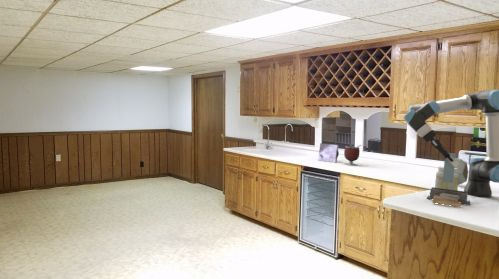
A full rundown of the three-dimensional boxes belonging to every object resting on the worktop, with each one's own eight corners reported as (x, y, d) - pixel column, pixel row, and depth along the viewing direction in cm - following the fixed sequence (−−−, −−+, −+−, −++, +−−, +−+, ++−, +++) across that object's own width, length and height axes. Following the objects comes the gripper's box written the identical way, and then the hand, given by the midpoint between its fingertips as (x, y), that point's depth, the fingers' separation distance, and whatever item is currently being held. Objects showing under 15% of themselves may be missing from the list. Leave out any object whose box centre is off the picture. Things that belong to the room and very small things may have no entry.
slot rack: (428, 196, 222) (429, 186, 222) (469, 203, 211) (470, 192, 211) (426, 198, 216) (427, 188, 215) (469, 205, 205) (470, 194, 205)
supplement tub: (449, 194, 237) (452, 166, 236) (461, 198, 224) (464, 169, 223) (430, 192, 236) (432, 165, 235) (440, 197, 224) (443, 168, 223)
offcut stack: (433, 201, 210) (434, 191, 209) (460, 205, 203) (461, 195, 203) (432, 203, 203) (432, 193, 203) (460, 207, 197) (461, 197, 196)
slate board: (443, 181, 215) (445, 152, 214) (453, 182, 213) (455, 153, 212) (442, 181, 213) (445, 153, 212) (452, 183, 210) (455, 154, 209)
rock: (440, 181, 287) (442, 155, 286) (448, 182, 287) (450, 155, 286) (460, 188, 261) (463, 159, 259) (469, 189, 261) (472, 159, 260)
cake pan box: (338, 162, 378) (339, 144, 376) (336, 163, 373) (337, 145, 372) (319, 160, 388) (321, 143, 387) (318, 160, 383) (319, 143, 382)
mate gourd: (342, 165, 358) (344, 143, 357) (343, 163, 371) (345, 143, 370) (359, 166, 353) (361, 145, 352) (360, 165, 367) (362, 144, 365)
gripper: (423, 137, 226) (452, 168, 219) (419, 138, 212) (450, 171, 205) (433, 129, 223) (463, 160, 216) (430, 129, 209) (462, 162, 202)
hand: (457, 165), depth 210 cm, fingers closed on slate board, 3 cm apart
